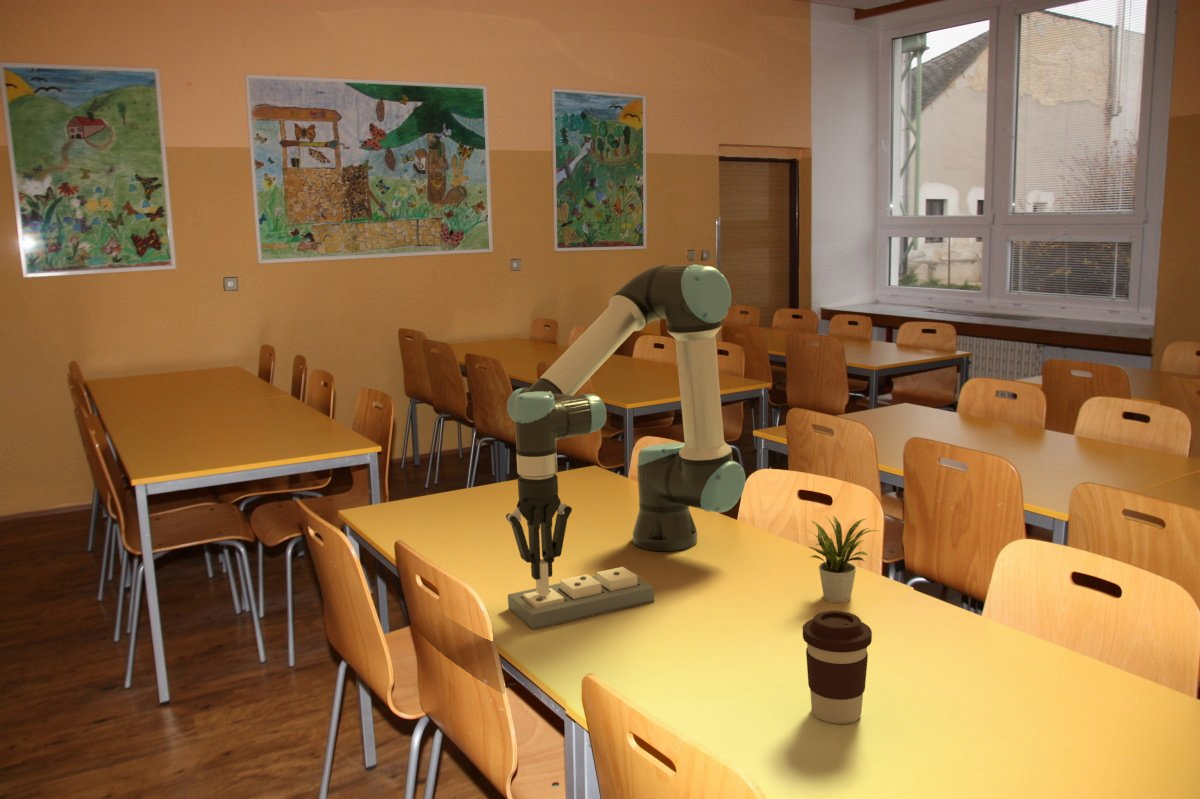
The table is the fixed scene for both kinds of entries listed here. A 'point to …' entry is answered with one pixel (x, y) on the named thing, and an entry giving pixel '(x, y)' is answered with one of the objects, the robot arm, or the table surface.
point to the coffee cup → (836, 664)
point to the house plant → (838, 561)
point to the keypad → (579, 604)
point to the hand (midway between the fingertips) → (542, 593)
